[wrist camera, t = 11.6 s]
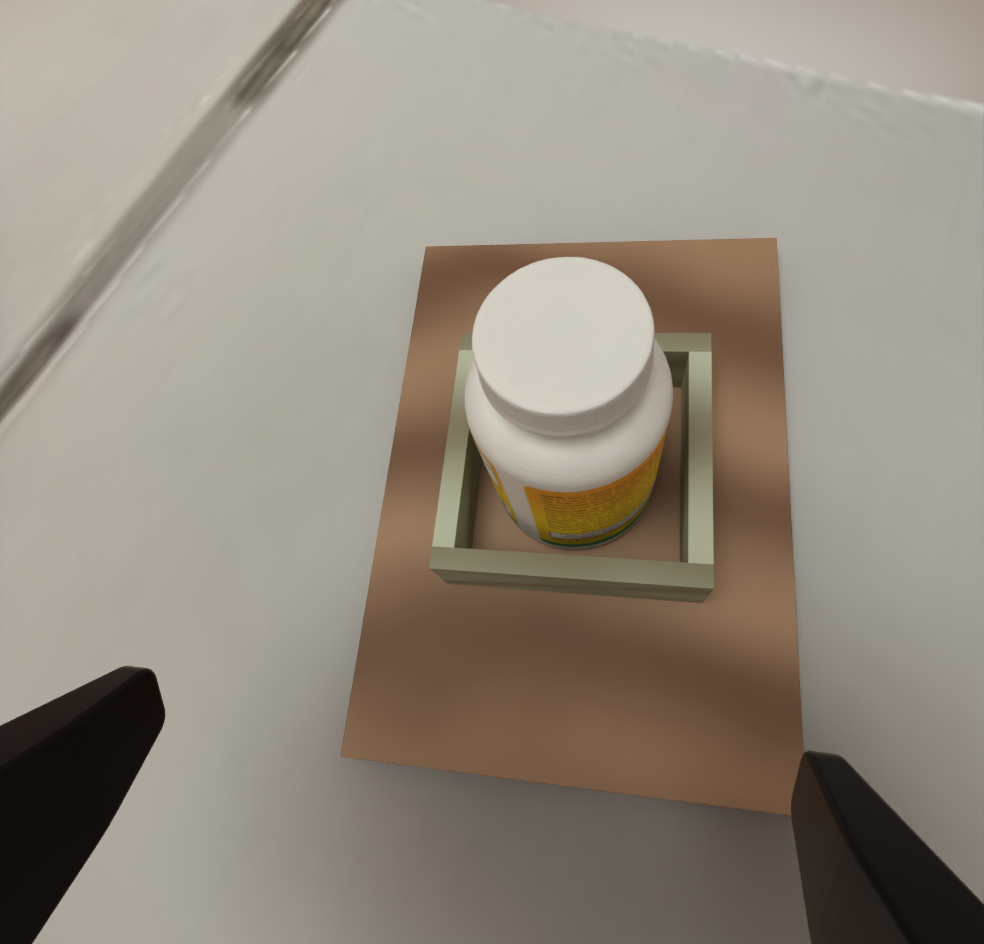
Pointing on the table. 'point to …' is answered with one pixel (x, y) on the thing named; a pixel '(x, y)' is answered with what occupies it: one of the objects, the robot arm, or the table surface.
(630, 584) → the bottle holder
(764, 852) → the table surface
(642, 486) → the supplement bottle
